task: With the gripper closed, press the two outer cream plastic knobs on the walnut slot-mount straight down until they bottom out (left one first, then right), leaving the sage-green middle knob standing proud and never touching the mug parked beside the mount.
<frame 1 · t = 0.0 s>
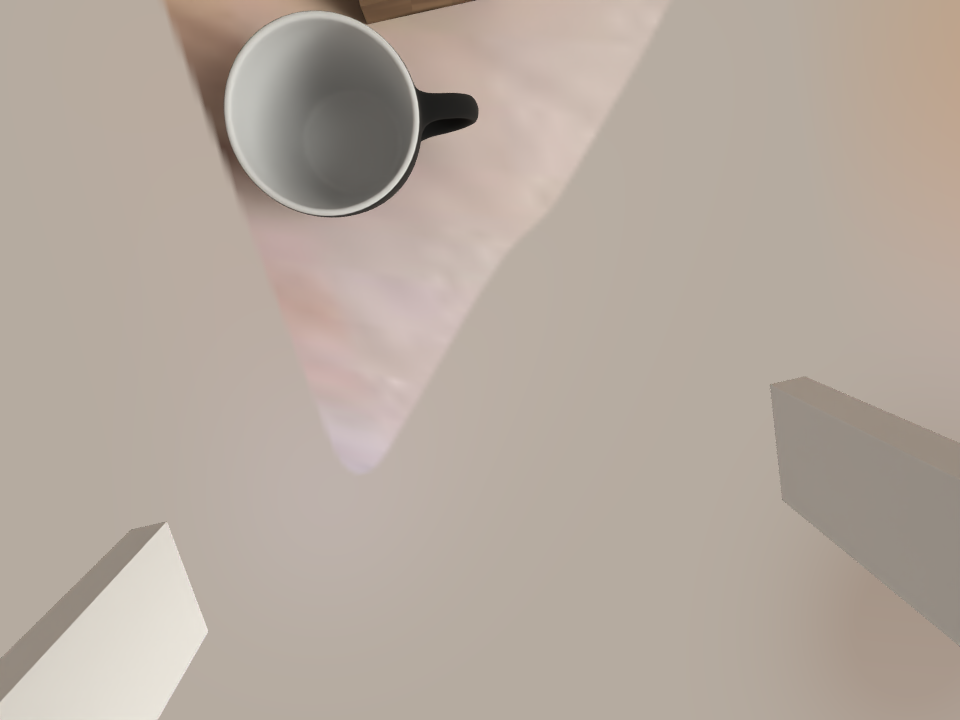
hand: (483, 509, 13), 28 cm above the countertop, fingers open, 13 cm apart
mug: (378, 140, 38), on the countertop
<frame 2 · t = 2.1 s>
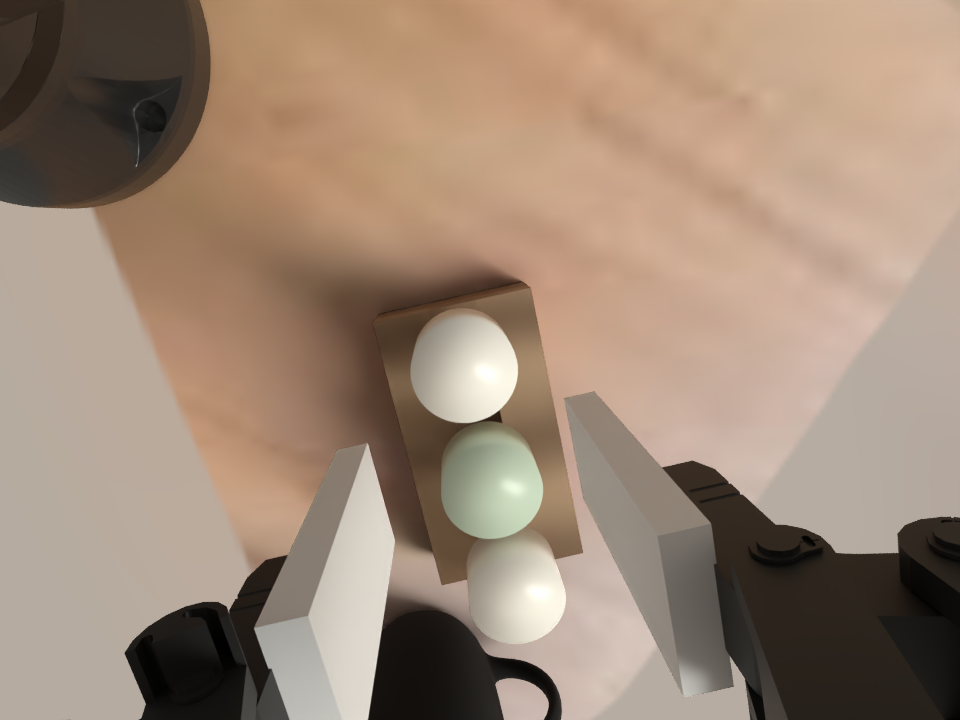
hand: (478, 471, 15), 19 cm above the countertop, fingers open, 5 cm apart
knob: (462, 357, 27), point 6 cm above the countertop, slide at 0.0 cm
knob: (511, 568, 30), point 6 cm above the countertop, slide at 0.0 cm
knob mid: (487, 467, 28), point 6 cm above the countertop, slide at 0.0 cm
mount: (480, 425, 34), on the countertop
mug: (449, 647, 38), on the countertop
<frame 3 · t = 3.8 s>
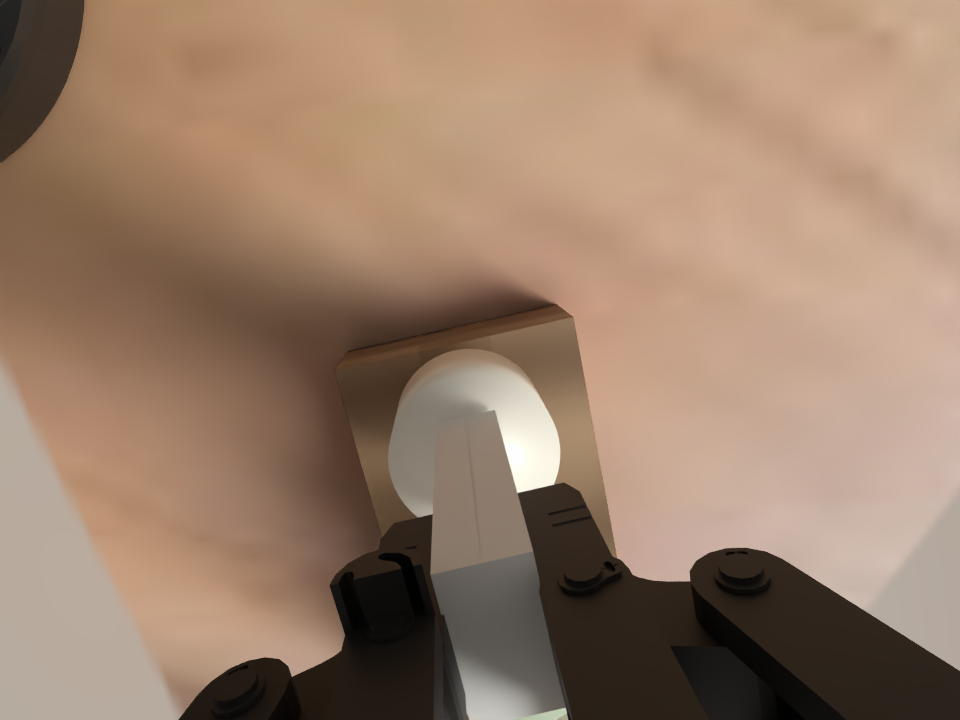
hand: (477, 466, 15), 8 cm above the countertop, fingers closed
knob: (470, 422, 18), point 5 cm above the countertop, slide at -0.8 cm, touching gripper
knob mid: (510, 596, 18), point 6 cm above the countertop, slide at 0.0 cm
mount: (493, 505, 24), on the countertop
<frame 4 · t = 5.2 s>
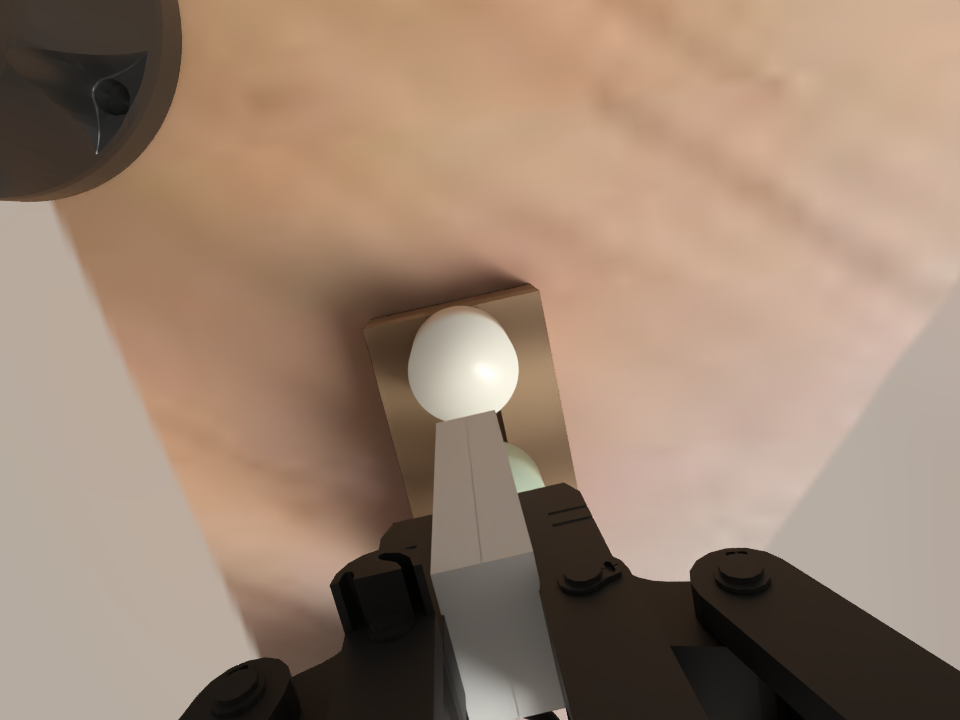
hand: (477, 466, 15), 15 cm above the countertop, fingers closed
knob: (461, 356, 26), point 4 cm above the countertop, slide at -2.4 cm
knob mid: (491, 492, 25), point 6 cm above the countertop, slide at 0.0 cm
mount: (482, 441, 31), on the countertop
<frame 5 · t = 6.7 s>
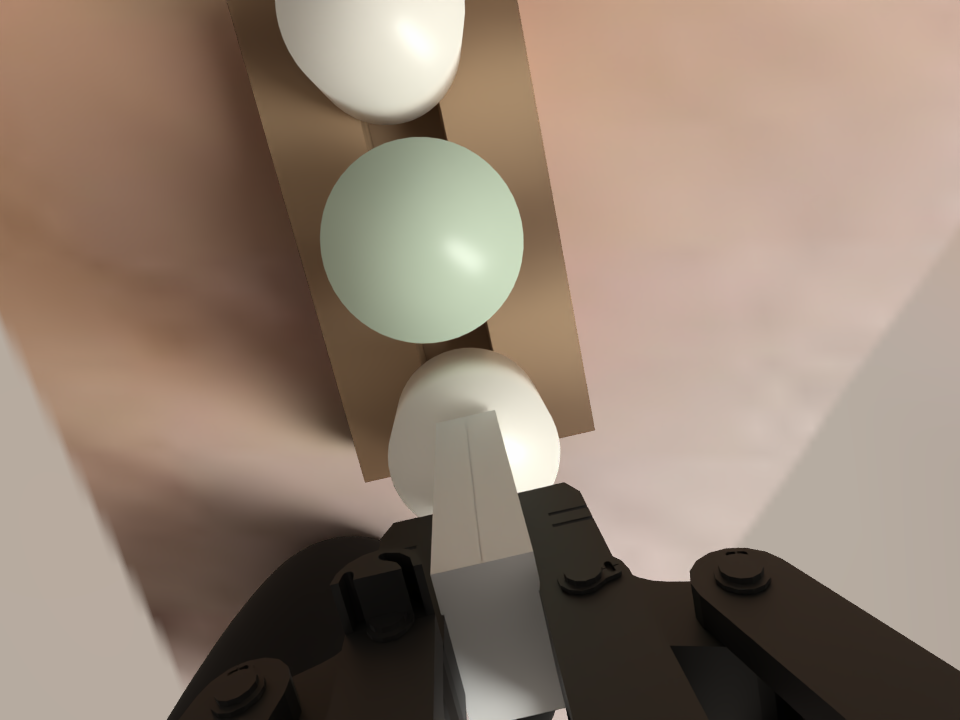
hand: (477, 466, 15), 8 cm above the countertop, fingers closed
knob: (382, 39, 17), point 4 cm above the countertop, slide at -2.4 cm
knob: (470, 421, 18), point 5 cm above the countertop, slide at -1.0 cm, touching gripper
knob mid: (426, 239, 16), point 6 cm above the countertop, slide at 0.0 cm
mount: (430, 233, 21), on the countertop
mug: (391, 594, 25), on the countertop
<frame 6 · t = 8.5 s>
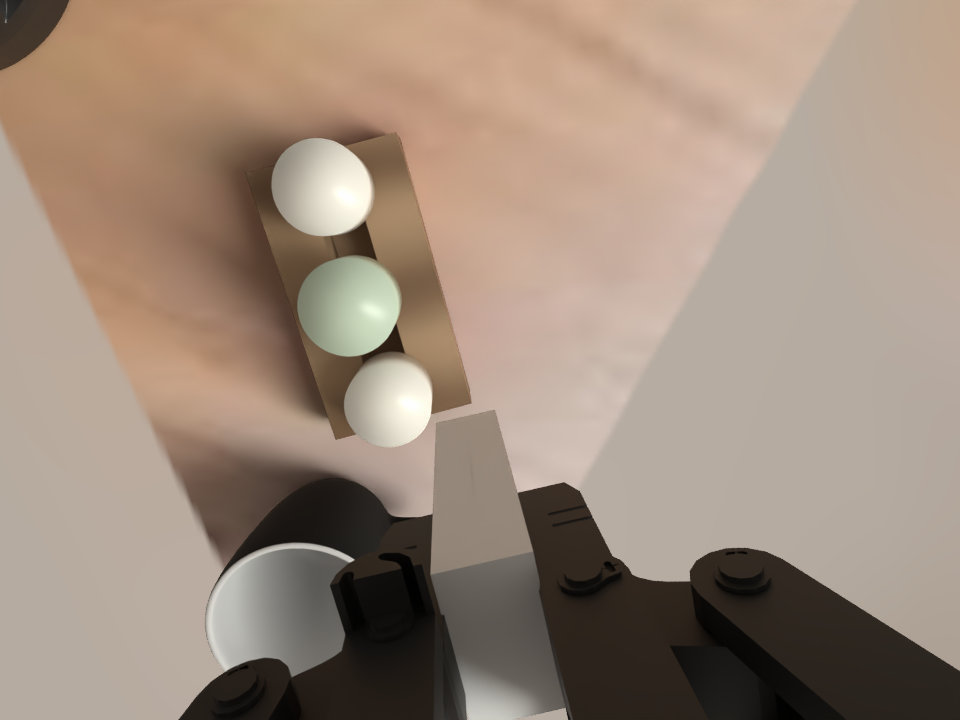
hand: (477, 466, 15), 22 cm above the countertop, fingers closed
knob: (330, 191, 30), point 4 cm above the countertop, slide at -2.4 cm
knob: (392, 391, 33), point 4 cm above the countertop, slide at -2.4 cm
knob mid: (356, 300, 29), point 6 cm above the countertop, slide at 0.0 cm
mount: (371, 288, 35), on the countertop
mug: (360, 517, 39), on the countertop
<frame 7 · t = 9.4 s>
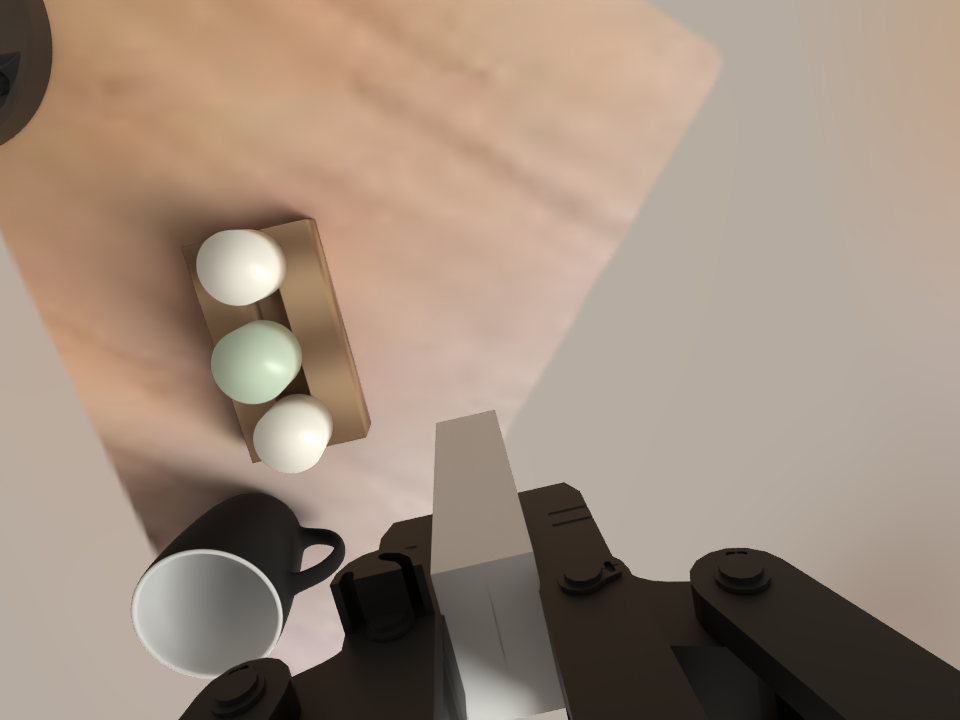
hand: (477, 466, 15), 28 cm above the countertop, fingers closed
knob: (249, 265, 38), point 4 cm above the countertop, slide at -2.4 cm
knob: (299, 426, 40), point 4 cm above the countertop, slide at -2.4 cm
knob mid: (264, 356, 37), point 6 cm above the countertop, slide at 0.0 cm
mount: (289, 337, 42), on the countertop
mug: (278, 526, 46), on the countertop
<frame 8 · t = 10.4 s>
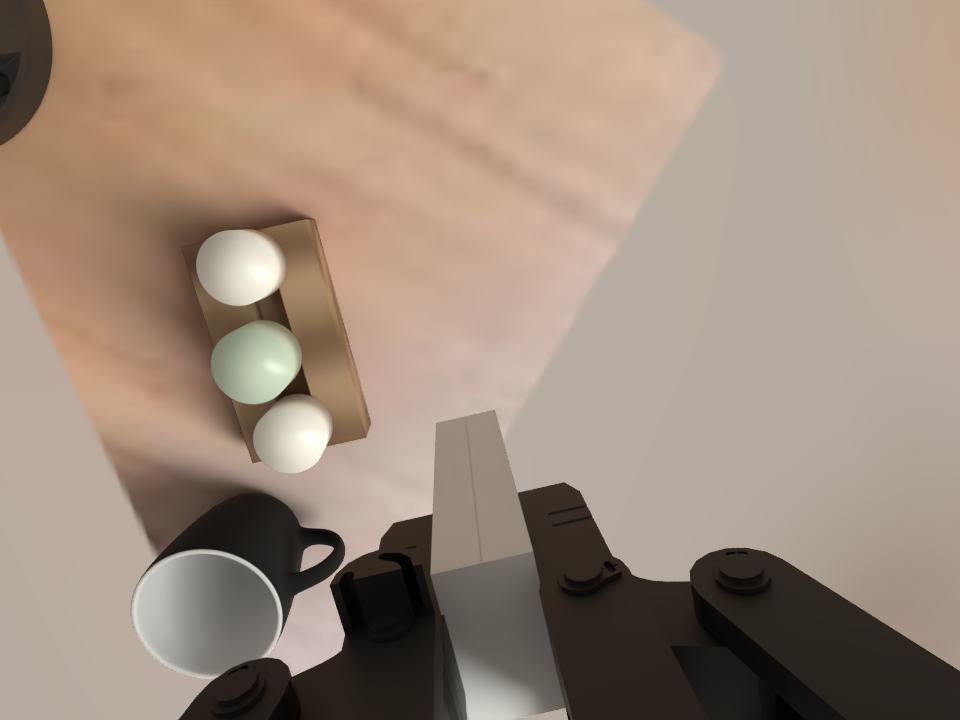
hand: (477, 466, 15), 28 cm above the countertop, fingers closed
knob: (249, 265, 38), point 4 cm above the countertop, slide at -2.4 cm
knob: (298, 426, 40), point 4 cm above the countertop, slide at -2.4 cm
knob mid: (264, 356, 37), point 6 cm above the countertop, slide at 0.0 cm
mount: (289, 338, 42), on the countertop
mug: (278, 526, 46), on the countertop
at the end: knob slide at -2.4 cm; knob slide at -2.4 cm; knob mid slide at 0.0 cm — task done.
